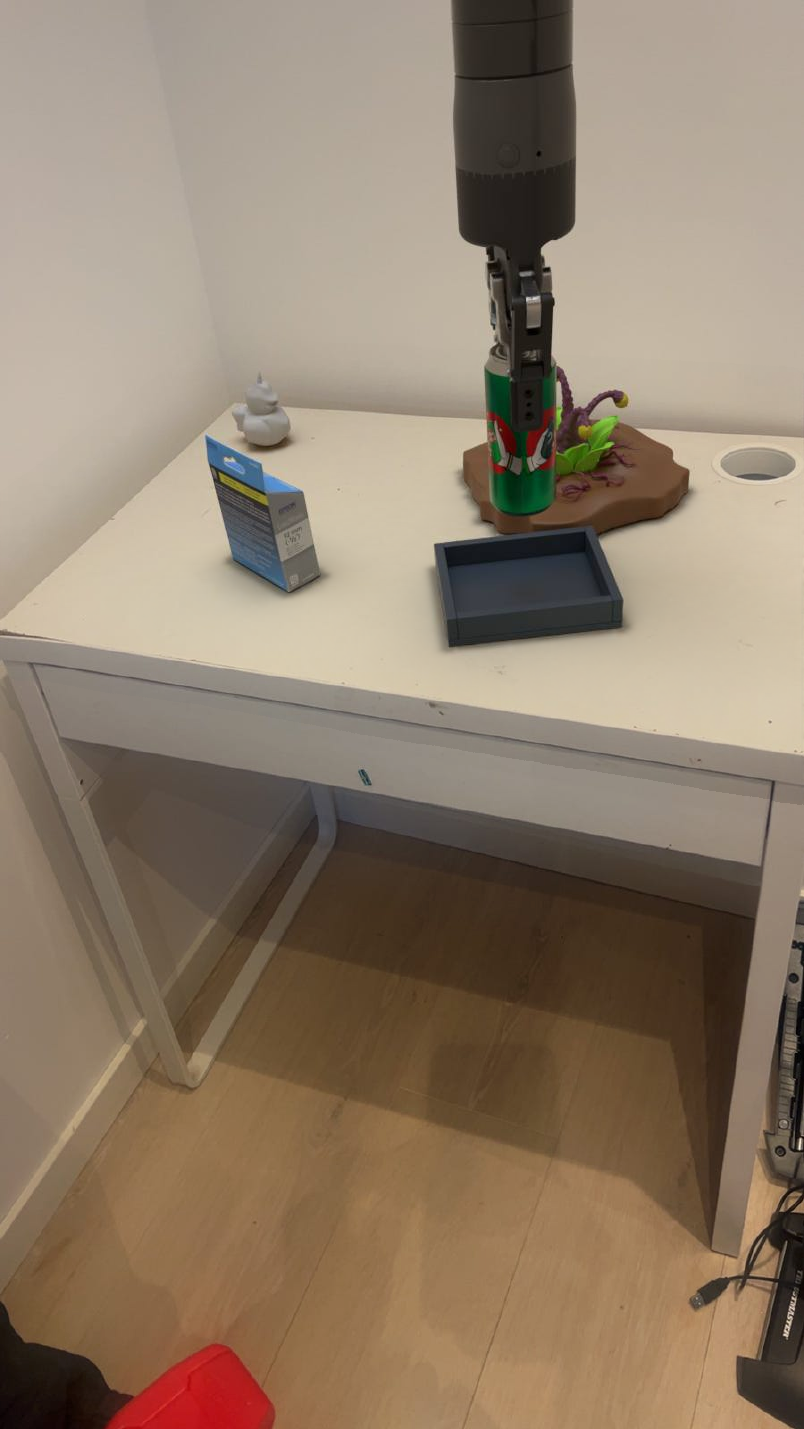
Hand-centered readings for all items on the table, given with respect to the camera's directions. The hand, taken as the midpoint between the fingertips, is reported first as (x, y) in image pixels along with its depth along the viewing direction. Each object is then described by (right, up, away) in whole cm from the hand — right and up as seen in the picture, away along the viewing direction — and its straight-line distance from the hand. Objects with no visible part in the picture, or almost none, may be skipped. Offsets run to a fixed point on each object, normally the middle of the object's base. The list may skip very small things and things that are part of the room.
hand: (520, 412), depth 75 cm
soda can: (+1, -6, +5) cm, 8 cm away
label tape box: (-20, -9, +18) cm, 28 cm away
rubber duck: (-24, +8, +38) cm, 46 cm away
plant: (+7, 0, +24) cm, 25 cm away
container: (+1, -12, +10) cm, 16 cm away
